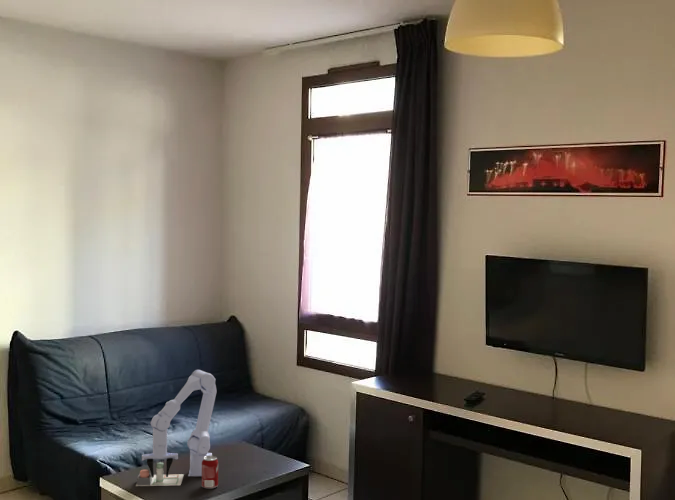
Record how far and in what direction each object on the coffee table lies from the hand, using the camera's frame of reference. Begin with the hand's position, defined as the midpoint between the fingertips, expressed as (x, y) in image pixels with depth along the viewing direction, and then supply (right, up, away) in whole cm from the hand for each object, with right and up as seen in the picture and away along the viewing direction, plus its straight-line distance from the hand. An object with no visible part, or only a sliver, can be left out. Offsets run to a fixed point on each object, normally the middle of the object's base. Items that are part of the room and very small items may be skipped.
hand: (159, 476), depth 316 cm
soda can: (+21, -3, -4) cm, 22 cm away
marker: (0, -2, 0) cm, 2 cm away
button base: (-6, -2, -2) cm, 7 cm away
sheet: (0, -2, +2) cm, 3 cm away
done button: (-6, -1, -2) cm, 6 cm away
